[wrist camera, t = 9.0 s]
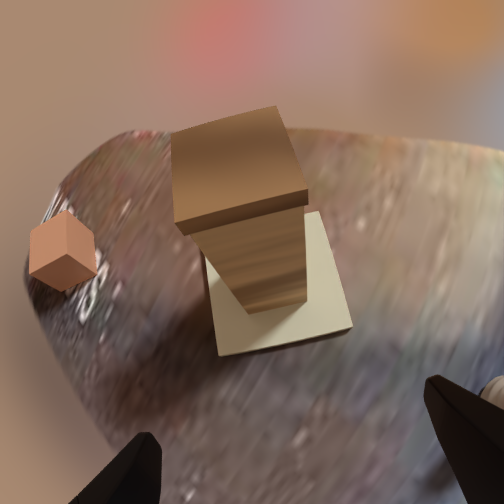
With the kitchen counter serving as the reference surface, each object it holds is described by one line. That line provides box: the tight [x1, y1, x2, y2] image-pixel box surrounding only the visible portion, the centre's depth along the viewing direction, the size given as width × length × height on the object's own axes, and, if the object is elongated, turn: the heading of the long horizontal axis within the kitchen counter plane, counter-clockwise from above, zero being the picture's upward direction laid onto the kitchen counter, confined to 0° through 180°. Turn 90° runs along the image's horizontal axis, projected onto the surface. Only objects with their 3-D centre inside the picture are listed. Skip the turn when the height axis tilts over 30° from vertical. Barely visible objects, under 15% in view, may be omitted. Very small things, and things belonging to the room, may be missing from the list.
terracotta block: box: [29, 210, 97, 292], centre depth 27 cm, size 5×5×5 cm
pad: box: [205, 211, 353, 357], centre depth 25 cm, size 10×10×1 cm
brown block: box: [171, 106, 308, 315], centre depth 18 cm, size 5×5×14 cm
